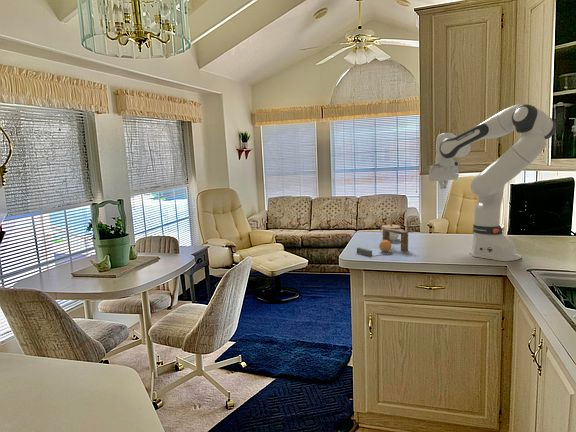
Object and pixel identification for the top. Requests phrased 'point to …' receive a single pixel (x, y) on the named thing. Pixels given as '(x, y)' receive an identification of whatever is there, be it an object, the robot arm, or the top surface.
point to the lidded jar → (392, 235)
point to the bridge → (403, 233)
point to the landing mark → (378, 252)
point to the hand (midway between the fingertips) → (443, 188)
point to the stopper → (364, 251)
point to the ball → (385, 246)
